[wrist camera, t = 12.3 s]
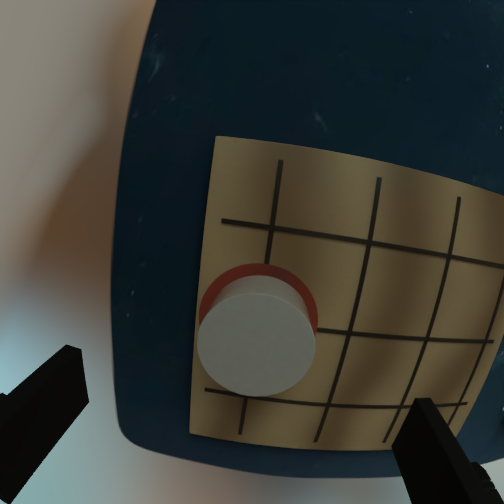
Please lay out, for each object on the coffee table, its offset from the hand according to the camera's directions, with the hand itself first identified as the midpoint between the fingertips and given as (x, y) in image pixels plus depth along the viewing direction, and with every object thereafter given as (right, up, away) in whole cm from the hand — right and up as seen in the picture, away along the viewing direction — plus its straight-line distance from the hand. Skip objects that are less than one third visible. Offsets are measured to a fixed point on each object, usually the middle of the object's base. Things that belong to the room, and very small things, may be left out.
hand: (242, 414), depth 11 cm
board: (+9, +1, +11) cm, 14 cm away
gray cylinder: (+1, +1, +9) cm, 10 cm away
